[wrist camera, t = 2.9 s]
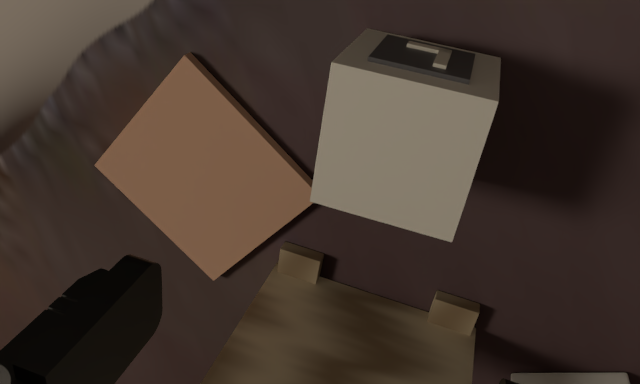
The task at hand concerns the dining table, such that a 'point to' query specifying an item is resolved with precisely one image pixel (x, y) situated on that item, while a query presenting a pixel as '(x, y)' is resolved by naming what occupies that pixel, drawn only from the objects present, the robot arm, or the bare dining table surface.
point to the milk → (571, 378)
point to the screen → (343, 334)
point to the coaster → (205, 170)
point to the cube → (404, 131)
